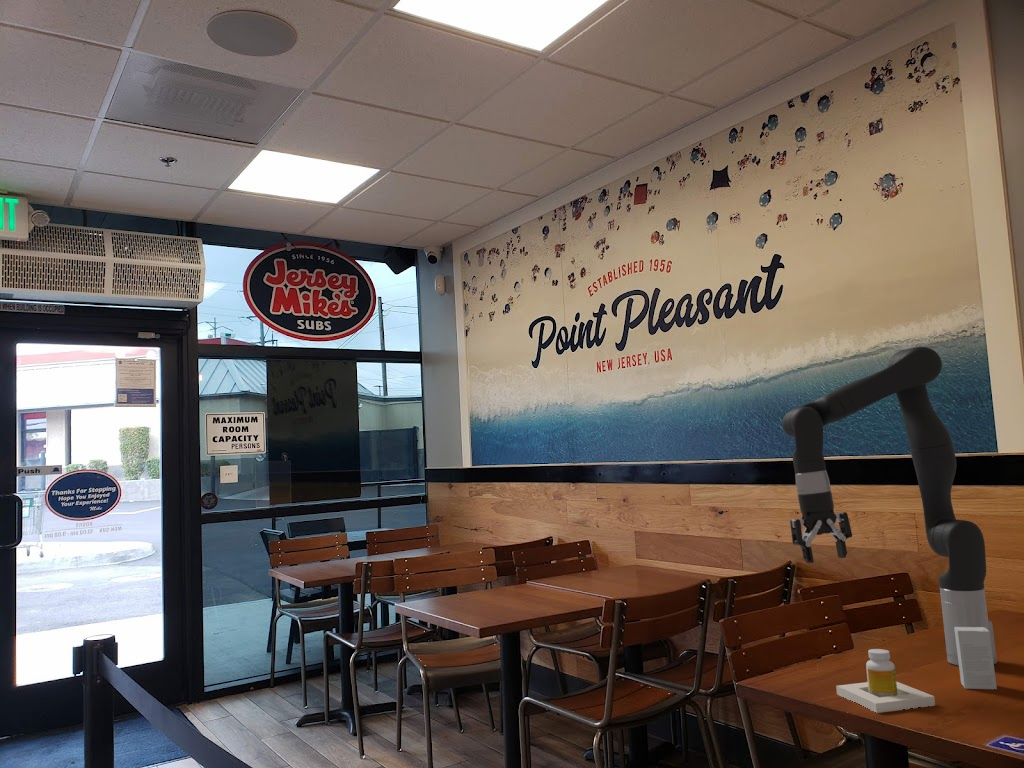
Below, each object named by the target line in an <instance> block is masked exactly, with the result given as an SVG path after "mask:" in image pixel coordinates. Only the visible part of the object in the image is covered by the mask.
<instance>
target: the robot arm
mask: <svg viewBox="0 0 1024 768" xmlns="http://www.w3.org/2000/svg"><path fill="white" fill-rule="evenodd" d="M887 366H888V367H886V368H883V369H882V370H880V371H877V372H874V373H872V374H869V375H867V376H865V377H862V378H859V379H856V380H854V381H852V382H849V383H847V384H844V385H842V386H840V387H837V388H836V389H834V390H832V391H829V392H828V393H825V394H824V395H822V396H821V397H818V398H817V399H816V400H815V399H814V400H813V401H810V402H807V403H805V404H803V405H800V406H798V407H796V408H794V409H791V410H790V411H788V412H787V413H785V415H784V417H783V419H782V429H783V431H784V432H785V433H786V434H787V435H788V436H790V437H792V438H795V439H794V440H795V449H794V451H792V462H793V464H792V465H793V469H794V474H795V475H794V477H795V489H796V491H797V492H796V493H797V497H798V503H799V507H800V508H799V510H800V512H801V518H800V519H799V518H798V519H797V518H793V519H791V518H790V521H789V523H790V532H791V541H792V544H793V545H794V546H795V545H796V546H799V547H801V553H802V558H803V560H804V561H805V562H806V564H813V563H814V561H815V560H814V556H813V555H814V554H813V550H812V549H813V548H812V547H811V544H812V542H813V540H814V539H815V538H816V536H819V535H820V536H821V535H823V534H825V535H830V536H832V537H833V539H835V548H836V553H837V557H838V558H839V559H845V558H847V554H848V550H847V543H846V541H847V540H848V539H849V538H852V537H853V532H852V527H851V524H850V520H849V515H848V513H847V512H846V511H838V512H837V513H835V511H834V509H835V504H834V500H833V499H834V498H833V493H832V489H831V484H830V483H831V482H830V478H829V475H828V472H827V468H826V460H825V457H824V452H823V451H824V450H823V449H824V427H825V426H827V425H829V424H833V423H836V422H840V421H841V420H843V419H846V418H848V417H850V416H851V415H854V414H856V413H858V412H860V411H861V410H864V409H866V408H868V407H869V406H871V405H873V404H875V403H877V402H878V401H881V400H883V399H885V398H887V397H889V396H891V395H894V394H895V395H896V399H897V401H898V404H899V407H900V411H901V414H902V418H903V424H904V427H905V431H906V436H907V440H908V445H909V449H910V454H911V459H912V461H913V462H912V464H913V466H914V467H913V468H914V470H915V475H916V478H917V483H918V487H919V493H920V496H921V504H922V509H923V517H924V528H925V534H926V539H927V542H928V545H929V547H930V549H931V550H932V551H933V552H934V553H935V554H936V555H938V556H941V557H944V558H948V569H947V571H946V572H943V573H942V574H940V575H939V577H938V583H939V584H938V586H939V593H940V602H941V611H942V621H943V631H944V637H945V638H944V641H945V649H946V656H947V657H946V659H947V662H948V664H952V665H954V666H959V662H958V654H957V646H956V638H955V630H954V627H985V628H986V629H987V630H988V631H990V639H991V647H992V654H993V662H994V665H995V664H997V662H998V660H997V653H996V645H995V637H994V629H993V622H992V621H991V620H989V618H988V617H989V616H988V609H987V602H986V601H987V600H986V593H985V579H986V576H987V560H986V544H985V539H984V535H983V532H982V530H981V528H980V527H979V526H978V525H977V524H976V523H974V522H972V521H971V520H964V519H957V518H956V516H955V512H954V508H953V504H952V496H951V495H952V487H953V485H954V481H955V480H954V479H955V476H956V471H957V458H956V453H955V448H954V444H953V440H952V437H951V434H950V433H949V430H948V429H947V427H946V426H945V424H944V422H943V421H942V420H941V418H940V416H939V415H938V413H937V412H936V411H935V409H934V407H933V405H932V403H931V400H930V398H929V393H928V389H927V384H929V383H932V382H933V381H934V380H936V379H937V377H939V375H940V373H941V372H942V369H943V368H942V367H943V363H942V359H941V357H940V355H939V353H938V352H937V351H936V350H934V349H932V348H929V347H926V346H915V347H911V348H907V349H903V350H899V351H897V352H895V353H893V355H892V356H891V357H890V359H889V362H888V365H887ZM836 522H838V526H839V527H838V526H837V525H836ZM803 526H804V527H805V528H804V530H803V532H802V528H803Z"/></svg>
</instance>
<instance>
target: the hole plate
mask: <svg viewBox="0 0 1024 768" xmlns="http://www.w3.org/2000/svg"><path fill="white" fill-rule="evenodd" d="M896 684H897V694H898V695H896V696H888V697H880V698H879V697H877V696H875V695H873V694H870V693H869V692H868V681H865V682H857V683H848V684H842V685H841V684H839V685H835V688H836V695H837V696H840V697H841V698H843V697H844V699H845V698H846V699H845V700H848V701H850V700H851V701H850V702H852V701H853V702H852V703H854V702H856V703H858V704H860V705H862V706H861V707H863V706H864V707H863V708H865V707H866V708H865V709H867V708H868V709H867V710H869V709H870V711H871V712H873V711H874V712H873V713H875V712H876V714H881V713H887V712H888V713H889V712H897V711H904V710H903V709H905V710H911V709H910V708H913V709H918V707H921V708H926V707H928V706H929V707H934V706H936V701H935V696H934V695H932V694H929V693H927V692H925V691H922V690H919V689H916V688H914V687H911V686H909V685H906V684H904V683H901V682H899V681H896ZM856 703H855V704H856ZM858 704H857V705H858ZM860 705H859V706H860Z"/></svg>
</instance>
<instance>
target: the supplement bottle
mask: <svg viewBox="0 0 1024 768" xmlns="http://www.w3.org/2000/svg"><path fill="white" fill-rule="evenodd" d="M868 658H869V659H870V660H867V662H866V664H865V665H866V666H865V667H866V668H865V669H866V677H867V679H866V682H868V692H869V693H870V694H873V695H875V696H877V697H879V698H880V697H888V696H896V695H898V694H897V684H896V682H897V675H896V666H895V664H894V663H893V662H892V661H891V660H890V659H891V654H890V651H889V650H887V649H881V648H871V649H868Z"/></svg>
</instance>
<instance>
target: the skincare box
mask: <svg viewBox="0 0 1024 768" xmlns="http://www.w3.org/2000/svg"><path fill="white" fill-rule="evenodd" d="M954 630H955V638H956V646H957V654H958V662H959V665H958V668H959V676H960V677H959V678H960V683H961V685H962V686H963V688H964V689H966V690H994V689H995V690H998V687H997V679H996V672H995V664H994V662H993V654H992V647H991V639H990V631H988V630H987V629H986V628H985V627H954ZM995 690H994V691H995Z"/></svg>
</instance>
